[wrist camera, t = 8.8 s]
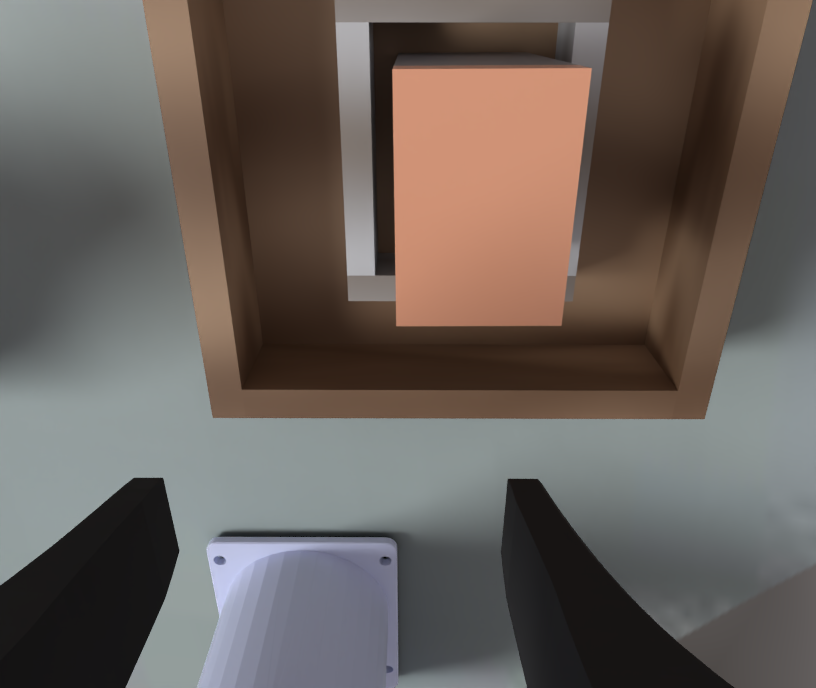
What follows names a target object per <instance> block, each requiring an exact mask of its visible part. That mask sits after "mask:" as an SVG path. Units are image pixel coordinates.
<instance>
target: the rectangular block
mask: <svg viewBox="0 0 816 688" xmlns="http://www.w3.org/2000/svg"><path fill="white" fill-rule="evenodd" d="M591 71H592V68H589V67H585V66H581V65H577V64H573V63H569V62H565V61H560V60H556V59H552V58H548V57H544V56H540V55H536V54H531V53H527V52H471V53H399V54H398V56H397V59H396V61H395V64H394V66H393V69H392V79H393V146H394V212H395V279H396V326H562V317H563V309H564V300H565V292H566V284H567V275H568V267H569V258H570V250H571V241H572V233H573V224H574V216H575V207H576V199H577V190H578V182H579V173H580V165H581V156H582V148H583V139H584V131H585V122H586V114H587V105H588V97H589V88H590V80H591Z"/></svg>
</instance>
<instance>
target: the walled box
mask: <svg viewBox="0 0 816 688" xmlns="http://www.w3.org/2000/svg"><path fill="white" fill-rule="evenodd" d="M812 1H813V0H143V6H144V12H145V18H146V24H147V30H148V36H149V41H150V47H151V53H152V59H153V65H154V71H155V77H156V83H157V89H158V95H159V101H160V107H161V113H162V119H163V125H164V131H165V136H166V142H167V148H168V154H169V160H170V166H171V172H172V178H173V184H174V190H175V196H176V202H177V208H178V214H179V220H180V225H181V231H182V237H183V243H184V249H185V255H186V261H187V267H188V273H189V279H190V285H191V291H192V297H193V303H194V309H195V315H196V320H197V326H198V332H199V338H200V344H201V350H202V356H203V362H204V368H205V374H206V380H207V386H208V392H209V398H210V404H211V410H212V415H213V418H516V419H705V415H706V411H707V407H708V403H709V400H710V396H711V392H712V388H713V384H714V380H715V376H716V372H717V369H718V365H719V361H720V357H721V353H722V349H723V345H724V341H725V338H726V334H727V330H728V326H729V322H730V318H731V314H732V311H733V307H734V303H735V299H736V295H737V291H738V287H739V283H740V280H741V276H742V272H743V268H744V264H745V260H746V256H747V253H748V249H749V245H750V241H751V237H752V233H753V229H754V225H755V222H756V218H757V214H758V210H759V206H760V202H761V198H762V195H763V191H764V187H765V183H766V179H767V175H768V171H769V167H770V164H771V160H772V156H773V152H774V148H775V144H776V140H777V137H778V133H779V129H780V125H781V121H782V117H783V113H784V109H785V106H786V102H787V98H788V94H789V90H790V86H791V82H792V79H793V75H794V71H795V67H796V63H797V59H798V55H799V51H800V48H801V44H802V40H803V36H804V32H805V28H806V24H807V21H808V17H809V13H810V9H811V5H812ZM471 52H527V53H531V54H536V55H540V56H544V57H548V58H552V59H556V60H560V61H565V62H569V63H573V64H577V65H581V66H585V67H589V68H592V71H591V80H590V88H589V97H588V105H587V114H586V122H585V131H584V139H583V148H582V156H581V165H580V173H579V182H578V190H577V199H576V207H575V216H574V224H573V233H572V241H571V250H570V258H569V267H568V275H567V284H566V292H565V300H564V309H563V317H562V326H396V279H395V212H394V146H393V79H392V69H393V66H394V64H395V61H396V59H397V56H398V54H399V53H471Z"/></svg>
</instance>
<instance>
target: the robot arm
mask: <svg viewBox="0 0 816 688" xmlns="http://www.w3.org/2000/svg"><path fill="white" fill-rule="evenodd" d="M178 554H179V547H178V543H177V538H176V534H175V529H174V525H173V520H172V516H171V511H170V507H169V502H168V498H167V493H166V489H165V484H164V480H163V478H133V479H132V480H131V481H129V482H128V483H127V484H126V485H124V486H123V487H122V488H121V489H120V490H118V491H117V492H116V493H115V494H114V495H113V496H111V497H110V498H109V499H108V500H107V501H105V502H104V503H103V504H102V505H101V506H100V507H98V508H97V509H96V510H95V511H94V512H93V513H91V514H90V515H89V516H88V517H87V518H85V519H84V520H83V521H82V522H81V523H79V524H78V525H77V526H76V527H75V528H73V529H72V530H71V531H70V532H69V533H67V534H66V535H65V536H64V537H63V538H61V539H60V540H59V541H58V542H57V543H55V544H54V545H53V546H52V547H50V548H49V549H48V550H46V551H45V552H44V553H43V554H41V555H40V556H39V557H37V558H36V559H35V560H33V561H32V562H31V563H30V564H28V565H27V566H26V567H24V568H23V569H22V570H20V571H19V572H18V573H16V574H15V575H14V576H13V577H11V578H10V579H9V580H7V581H6V582H5V583H3V584H2V585H0V688H125V687H126V685H127V683H128V681H129V678H130V676H131V674H132V672H133V670H134V667H135V665H136V663H137V661H138V658H139V656H140V654H141V652H142V650H143V647H144V645H145V643H146V641H147V638H148V636H149V634H150V632H151V629H152V627H153V625H154V623H155V620H156V618H157V616H158V613H159V611H160V609H161V607H162V604H163V602H164V600H165V597H166V594H167V591H168V588H169V584H170V581H171V578H172V575H173V571H174V568H175V564H176V561H177V557H178ZM207 555H208V560H209V565H210V570H211V575H212V581H213V586H214V591H215V596H216V601H217V606H218V611H219V616H220V618H219V621H218V624H217V627H216V630H215V633H214V636H213V639H212V643H211V646H210V649H209V652H208V655H207V658H206V661H205V664H204V667H203V671H202V674H201V677H200V680H199V683H198V686H197V688H394V687H396V686H397V685H398V573H397V544H396V542H395V541H394V540H393V539H391V538H386V537H215V538H213V539H211V540H210V542H209V544H208V546H207ZM501 555H502V564H503V573H504V582H505V590H506V598H507V603H508V607H509V611H510V616H511V620H512V625H513V629H514V633H515V638H516V642H517V646H518V650H519V655H520V659H521V663H522V667H523V672H524V676H525V680H526V684H527V688H734V687H733V686H731V685H730V684H729V683H727V682H726V681H725V680H724V679H722V678H721V677H720V676H718V675H717V674H716V673H714V672H713V671H712V670H711V669H710V668H708V667H707V666H706V665H705V664H703V663H702V662H701V661H700V660H699V659H697V658H696V657H695V656H694V655H693V654H691V653H690V652H689V651H688V650H687V649H685V648H684V647H683V646H682V645H681V644H679V643H678V642H677V641H676V640H675V639H674V638H673V637H671V636H670V635H669V634H668V633H667V632H666V631H665V630H664V629H663V628H662V627H660V626H659V625H658V624H657V623H656V622H655V621H654V620H653V619H652V618H651V617H650V616H649V615H648V614H647V613H646V612H645V611H644V610H643V609H642V608H641V607H640V606H639V605H638V604H637V603H636V602H635V601H634V600H633V599H632V598H631V597H630V596H629V595H628V594H627V592H626V591H625V590H624V589H623V588H622V587H621V586H620V585H619V584H618V583H617V581H616V580H615V579H614V578H613V577H612V576H611V575H610V574H609V573H608V571H607V570H606V569H605V568H604V567H603V566H602V564H601V563H600V562H599V561H598V560H597V558H596V557H595V556H594V555H593V553H592V552H591V551H590V550H589V548H588V547H587V546H586V545H585V543H584V542H583V541H582V540H581V538H580V537H579V536H578V535H577V533H576V532H575V531H574V529H573V528H572V527H571V525H570V524H569V522H568V521H567V520H566V518H565V517H564V516H563V514H562V513H561V511H560V510H559V509H558V507H557V506H556V504H555V503H554V501H553V500H552V498H551V497H550V495H549V494H548V492H547V491H546V489H545V488H544V486H543V485H542V483H541V482H540V481H539V480H538V479H508V483H507V494H506V505H505V515H504V526H503V537H502V548H501ZM218 556H222V557H224V558H220V557H218ZM385 556H386V557H389V558H386V559H385V558H382V557H385Z"/></svg>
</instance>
